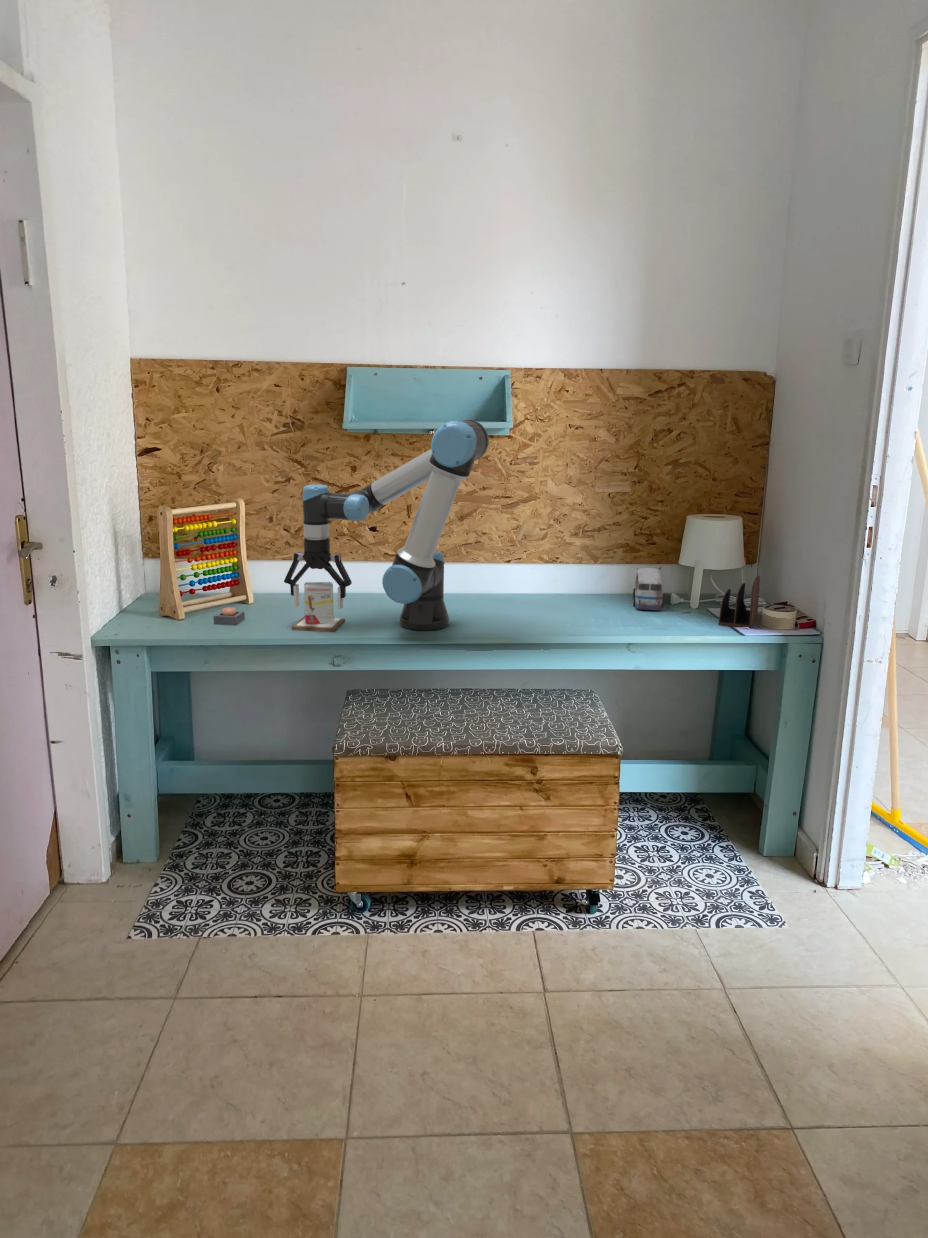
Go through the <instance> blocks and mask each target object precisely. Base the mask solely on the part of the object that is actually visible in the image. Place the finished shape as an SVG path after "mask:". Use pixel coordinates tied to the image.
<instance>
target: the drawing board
mask: <svg viewBox="0 0 928 1238" xmlns="http://www.w3.org/2000/svg"><path fill="white" fill-rule="evenodd" d="M345 622H346V618H342V617H334V623H323V624H306V623H305V615H304V616H303V617H301V619H299V620H298V621H297V622H295V623H294V624H293V625H292V626H291V630H293V631H309V632H326V633H327V632H328V633H335V632H336V631H337V630H338V629H339V628H340V627H341V626H342V625H343V624H345Z"/></svg>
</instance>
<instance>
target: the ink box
mask: <svg viewBox="0 0 928 1238" xmlns="http://www.w3.org/2000/svg"><path fill="white" fill-rule="evenodd" d="M303 584H304V585H303V588H304V591H303V592H304V594H303V595H304V616H305V623H306V624H323V623H334V618H335V617H334V584H333V582H331V581H313V582H312V581H308V582H304V583H303Z"/></svg>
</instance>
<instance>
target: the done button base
mask: <svg viewBox="0 0 928 1238" xmlns="http://www.w3.org/2000/svg"><path fill="white" fill-rule="evenodd" d="M245 619H246V617H245V611H241V610H236V615H235V616H223V615H222V610H221V611H219V612H217V613H216V614H214V615H213V625H227V626H237V625H238V624H240V623H241V622H243V621H244V620H245Z"/></svg>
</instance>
